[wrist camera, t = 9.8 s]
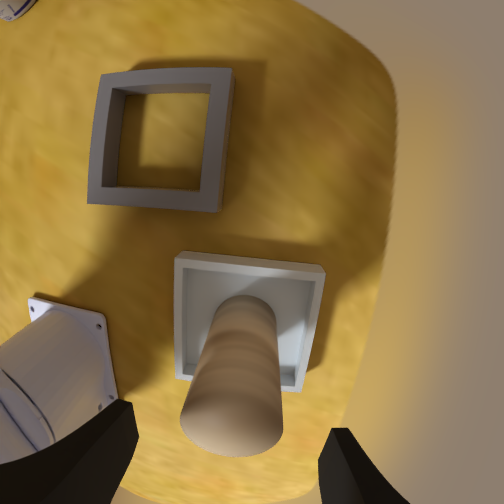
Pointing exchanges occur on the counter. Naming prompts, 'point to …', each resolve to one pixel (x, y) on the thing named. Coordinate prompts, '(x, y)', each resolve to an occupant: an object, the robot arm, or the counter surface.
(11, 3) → the energy drink
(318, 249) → the counter surface
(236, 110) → the counter surface
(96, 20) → the counter surface
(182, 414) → the dowel pin
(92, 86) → the counter surface
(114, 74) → the gray square frame
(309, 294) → the tray
